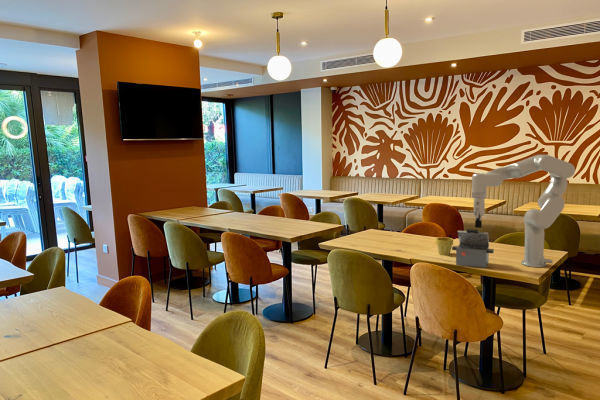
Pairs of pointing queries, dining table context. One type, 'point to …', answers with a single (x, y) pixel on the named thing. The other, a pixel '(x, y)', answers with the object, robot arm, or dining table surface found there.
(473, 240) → the lid
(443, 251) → the plant pot
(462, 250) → the cooker
